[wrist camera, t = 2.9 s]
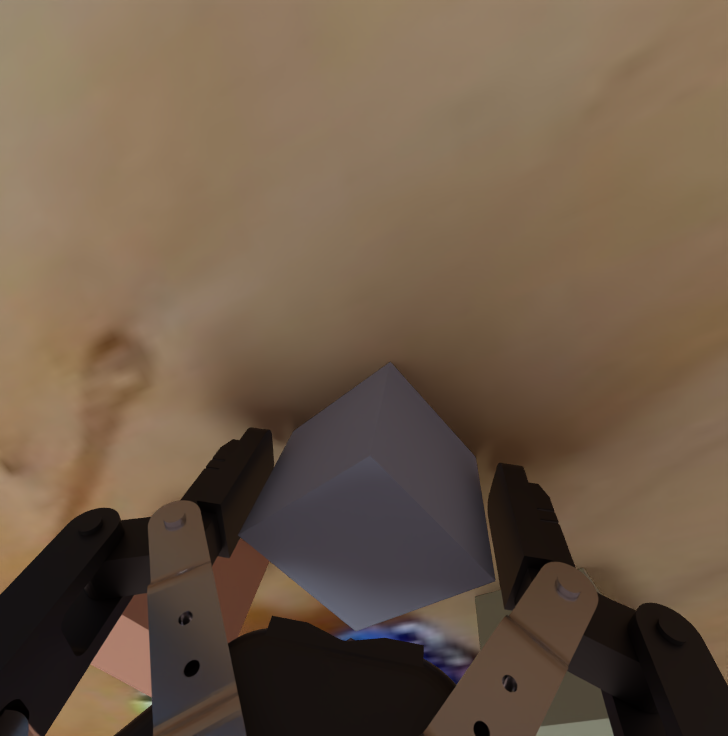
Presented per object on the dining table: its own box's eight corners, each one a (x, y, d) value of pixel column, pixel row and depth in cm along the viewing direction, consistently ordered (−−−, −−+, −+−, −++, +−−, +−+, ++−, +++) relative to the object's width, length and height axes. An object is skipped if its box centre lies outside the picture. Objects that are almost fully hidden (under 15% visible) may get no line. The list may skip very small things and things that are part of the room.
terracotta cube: (271, 557, 19) (222, 672, 15) (222, 595, 21) (168, 706, 17) (186, 500, 18) (107, 606, 14) (145, 546, 20) (65, 650, 16)
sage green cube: (628, 632, 17) (695, 787, 13) (523, 653, 19) (551, 794, 15) (582, 565, 16) (640, 714, 12) (474, 595, 18) (489, 732, 13)
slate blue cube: (475, 455, 14) (495, 580, 10) (375, 508, 16) (355, 631, 12) (390, 360, 13) (370, 455, 9) (293, 430, 15) (237, 535, 11)
